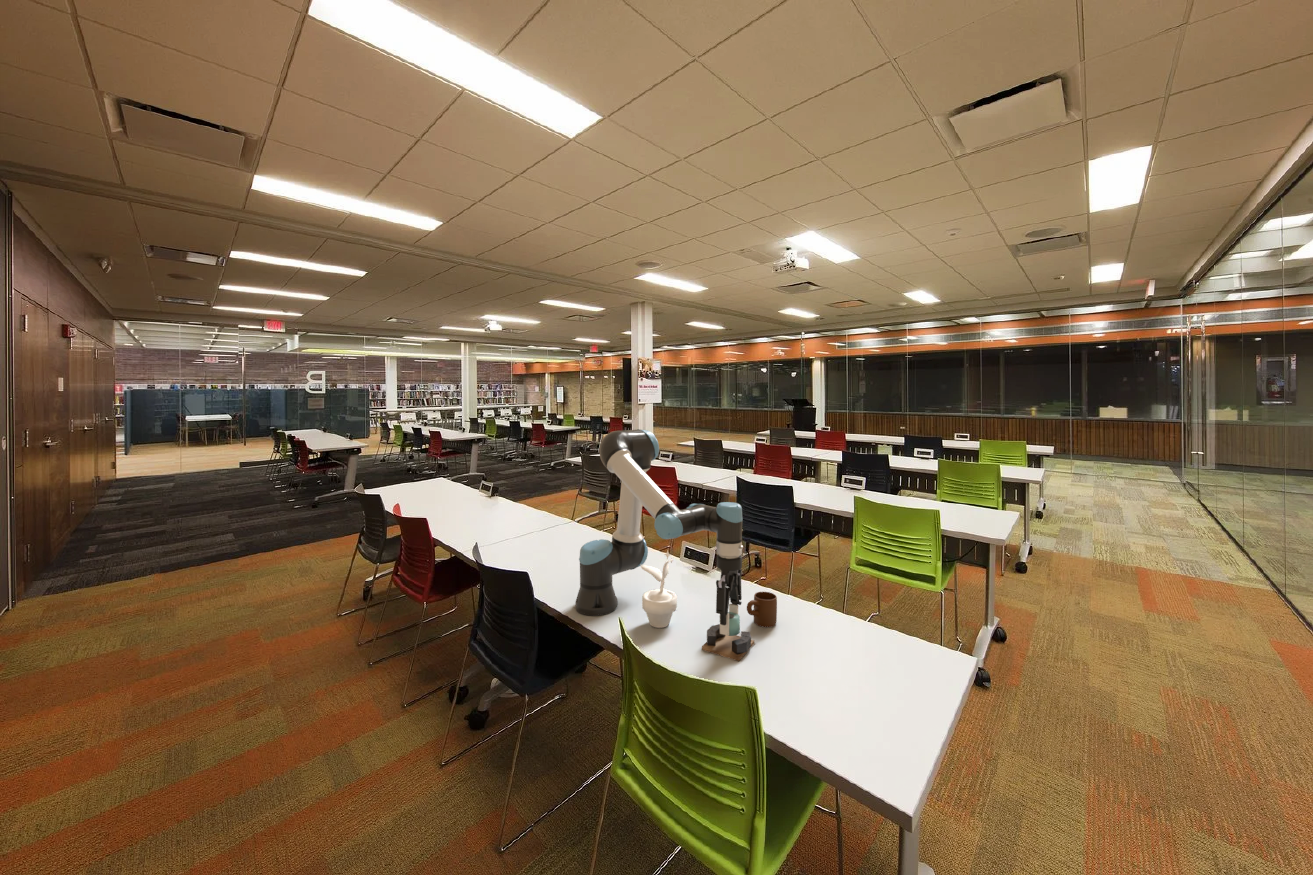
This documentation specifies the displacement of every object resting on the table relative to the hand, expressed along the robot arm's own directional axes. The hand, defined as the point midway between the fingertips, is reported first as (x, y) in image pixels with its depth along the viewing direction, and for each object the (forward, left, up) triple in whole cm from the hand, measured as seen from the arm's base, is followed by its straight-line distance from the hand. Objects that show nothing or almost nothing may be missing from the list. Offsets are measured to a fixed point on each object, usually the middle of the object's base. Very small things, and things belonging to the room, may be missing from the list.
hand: (729, 629), depth 143 cm
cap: (0, 0, 0) cm, 0 cm away
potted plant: (-26, +1, -6) cm, 27 cm away
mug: (+3, +19, -6) cm, 20 cm away
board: (0, 0, -5) cm, 5 cm away
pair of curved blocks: (0, 0, -5) cm, 5 cm away
